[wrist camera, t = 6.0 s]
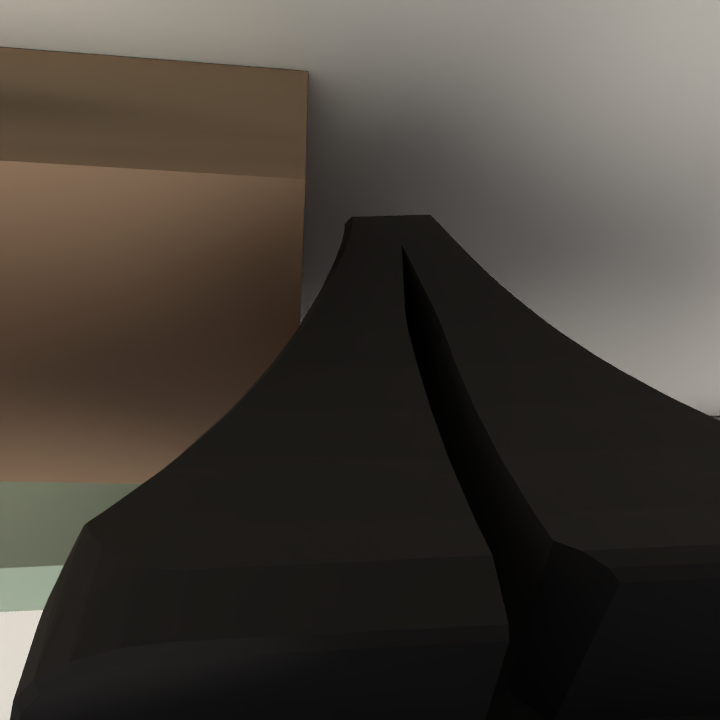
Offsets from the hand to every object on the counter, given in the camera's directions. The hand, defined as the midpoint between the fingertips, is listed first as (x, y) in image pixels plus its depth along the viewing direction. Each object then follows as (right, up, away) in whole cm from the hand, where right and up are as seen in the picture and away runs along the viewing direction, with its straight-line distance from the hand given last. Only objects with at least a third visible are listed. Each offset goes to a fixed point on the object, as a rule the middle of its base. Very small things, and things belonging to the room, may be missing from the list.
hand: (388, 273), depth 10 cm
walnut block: (-4, +1, +1) cm, 4 cm away
